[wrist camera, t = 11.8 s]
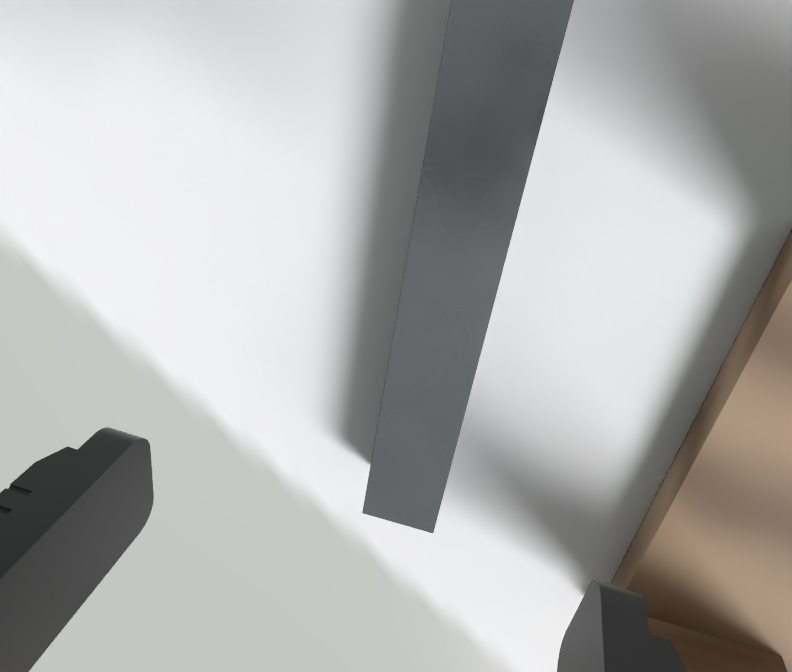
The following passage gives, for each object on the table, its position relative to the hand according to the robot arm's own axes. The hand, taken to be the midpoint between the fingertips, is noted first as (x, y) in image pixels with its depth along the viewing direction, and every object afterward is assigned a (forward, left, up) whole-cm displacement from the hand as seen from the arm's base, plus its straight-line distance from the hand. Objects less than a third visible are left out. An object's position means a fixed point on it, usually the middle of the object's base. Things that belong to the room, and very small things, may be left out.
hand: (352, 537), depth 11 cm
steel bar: (+1, 0, -13) cm, 13 cm away
